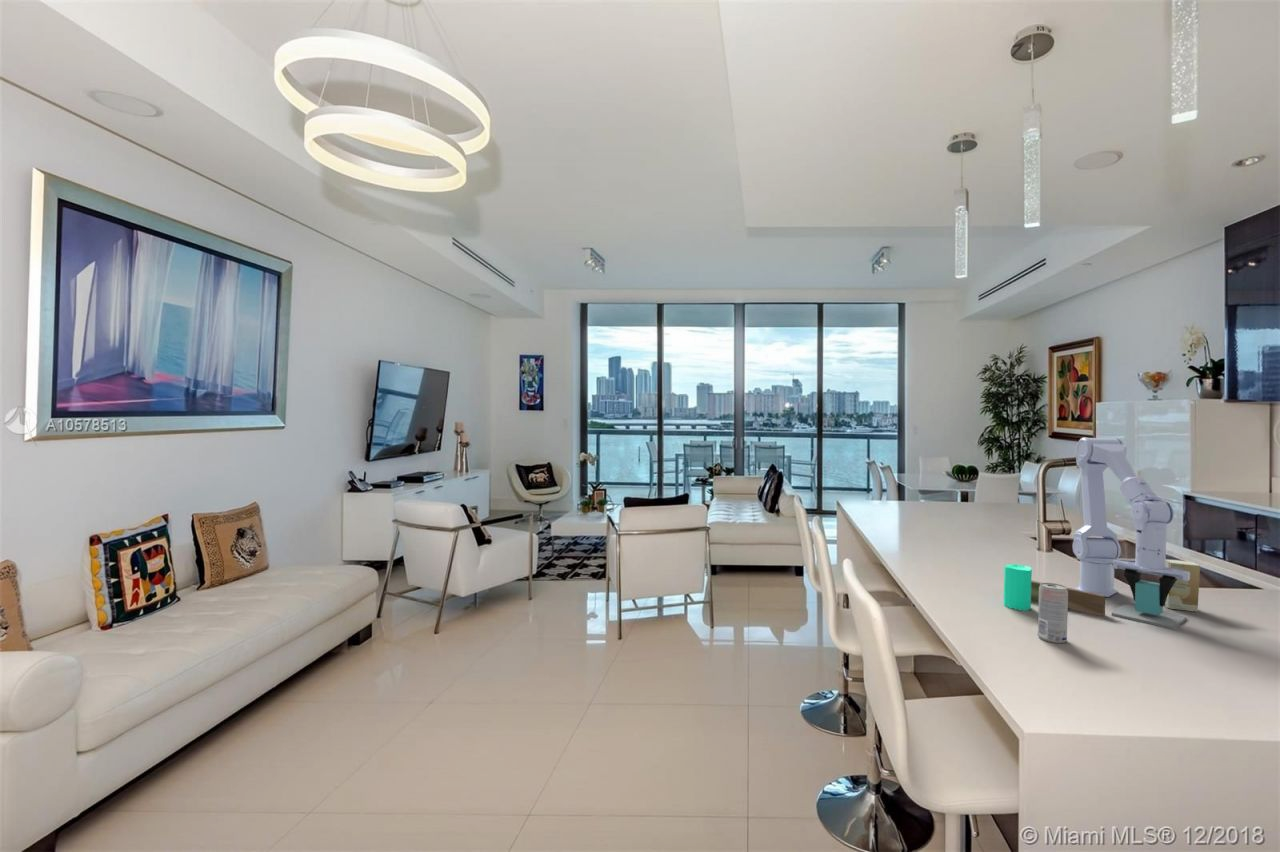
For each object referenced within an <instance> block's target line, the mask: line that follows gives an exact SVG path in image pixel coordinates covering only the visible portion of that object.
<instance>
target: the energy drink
mask: <svg viewBox="0 0 1280 852" xmlns="http://www.w3.org/2000/svg"><path fill="white" fill-rule="evenodd" d="M1067 588H1068V587H1067V586H1065V585H1063V584H1059V583H1053V582H1042V583H1041V584H1040V586H1039V602H1038V610H1037V612H1038V614H1037V615H1038V616H1037V617H1038V618H1037V636H1038V637H1039V639H1040V640H1043V641H1044V642H1045V641H1046V642H1049V643H1052V644H1054V643H1055V644H1064V643H1067V641H1068V612H1069V611H1068V610H1069V609H1068V590H1067Z"/></svg>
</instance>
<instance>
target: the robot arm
mask: <svg viewBox="0 0 1280 852" xmlns="http://www.w3.org/2000/svg"><path fill="white" fill-rule="evenodd" d="M1074 449H1075V460H1076V466H1077V467H1078V468H1079V470H1080V482H1081V483H1080V484H1081V496H1082V511H1083V512H1082V513H1083V524H1084V525H1083V526H1082V527H1080V528H1079V529H1077V530H1076V531H1074V533H1073V541H1072V552H1073V554H1074V555H1075V556H1076V558H1077V559H1078V560H1079V585H1078V586H1076V587H1075V588H1074V589H1076V590H1081V591H1086V592H1091V593H1096V594H1101V595H1106V598H1109V597H1111V596H1113V595H1115V594H1116V593H1118V592H1119V590H1118V589H1115V569H1116V570H1118V569H1119V570H1124V572H1123V577H1124V578H1125V579H1126V581H1127V583H1128V585H1129V587H1130V590H1131V593H1132V598H1133V601H1134V602H1135V584H1136V582H1138V581H1140V580H1141V575H1142V573H1143V574H1147V575H1155V576H1158V577H1159V576H1160V578H1159V581H1158V583H1160V606H1163V607H1166V606H1165V603H1166V599H1167V596H1168V594H1169V592H1170V590H1171V588H1172V586H1173V585H1174V583H1175V582H1176V581H1177V579H1182V580H1185V581H1189V580H1190V572H1187V571H1182V570H1177V569H1173V568H1168V567H1165V561H1166V560H1167V559H1166V558H1167V557H1166V553H1167V528H1168V527H1167V526H1168V524H1170V523H1171V522H1172V521H1173V519H1174V509H1173V507H1172V505H1171V503H1170V502H1169V501H1168V500H1164V499H1163V498H1162V497H1158V496H1157V494H1156V493H1155V492H1154V489H1152V488H1151V486H1150V485H1149V483H1148V482H1147V480H1146V479H1145V478H1142V477H1139V476H1137V475H1136V473H1135V471H1134V469H1133V467H1132V466H1131V464H1130V462H1129V460H1128V458H1127V457H1126V456H1127V446H1126V444H1125V442H1124V441H1123V439H1121V438H1120V437H1114V438H1110V437H1085V436H1083V437H1081V438H1080V439H1079V440H1078V441H1077V443H1076V445H1075V448H1074ZM1108 468H1109V470H1111V471H1112V473H1113V474H1114V475H1115V476H1116V478H1117V479H1118V480H1119V481H1120V482H1121V483H1120V485H1119V490H1120V491H1121V492H1122V494H1123V496H1124V497H1125V499H1126V500H1127V502H1128V504H1129V505H1130V506H1131V509H1130V510H1129V511H1130V516H1131V519H1132V521H1133V522H1132V523H1133V528H1134V529H1135V532H1136V533H1135V553H1134V554H1135V559H1134V560H1135V561H1129V560H1128V561H1126V560H1118V559H1119V557H1121V554H1122V549H1121V547H1122V546H1121V545H1120V543H1119V540H1118V539H1119V538H1118V534H1117V533H1116V532H1115V531H1113V530H1112V529H1111V528H1109V527H1108V523H1107V522H1108V520H1107V510H1106V507H1107V506H1106V497H1105V485H1104V484H1105V483H1104V482H1105V481H1104V471H1105V470H1106V469H1108Z"/></svg>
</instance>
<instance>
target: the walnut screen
mask: <svg viewBox="0 0 1280 852" xmlns="http://www.w3.org/2000/svg"><path fill="white" fill-rule="evenodd" d="M1041 583H1043V582H1041V581H1036V580H1032V579H1031V601H1033V600H1034V601H1033V602H1037V601H1038V602H1037V603H1039V586H1040V584H1041ZM1067 590H1068V608H1070V609H1069V610H1073V609H1074V610H1073V611H1078V612H1082V613H1087V614H1091V615H1095V616H1100V617H1105V616H1106V600H1107V599H1106V598H1107V597H1106V595H1101V594H1096V593H1091V592H1086V591H1081V590H1076V589H1075V588H1071V587H1067Z"/></svg>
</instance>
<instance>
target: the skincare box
mask: <svg viewBox="0 0 1280 852" xmlns="http://www.w3.org/2000/svg"><path fill="white" fill-rule="evenodd" d="M1165 567H1168V568H1173V569H1177V570H1182V571H1187V572H1190V580H1189V581H1185V580H1182V579H1177V581H1176V582H1175V583H1174V585H1173V586H1172V588H1171V590H1170V592H1169V594H1168V596H1167V599H1166V603H1165V606H1164V607H1166V608H1168V609H1169V610H1171V609H1172V610H1179V611H1189V612H1194V611H1195V612H1196V613H1197V612H1198V610H1199V607H1198V606H1199V593H1200V590H1199V589H1200V574H1201V573H1200V572H1201V565H1199V564H1198V563H1195V562H1193V561H1185V560H1176V559H1166V561H1165Z"/></svg>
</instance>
